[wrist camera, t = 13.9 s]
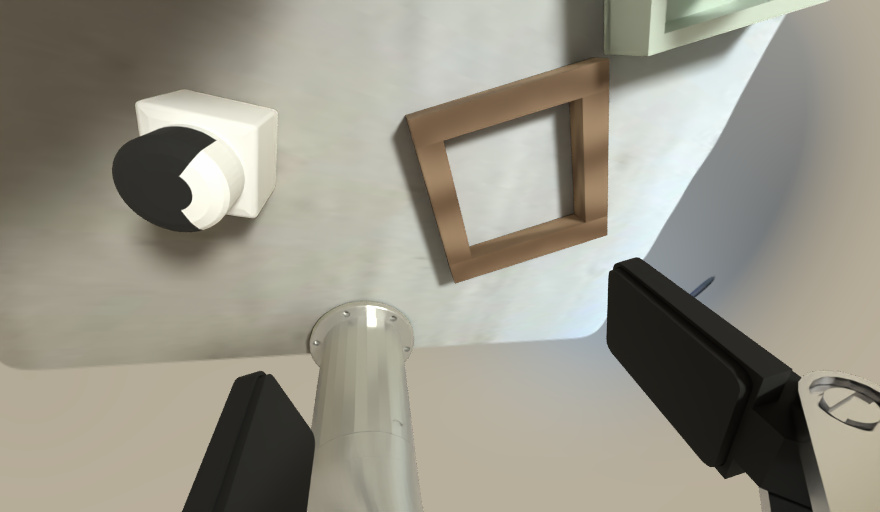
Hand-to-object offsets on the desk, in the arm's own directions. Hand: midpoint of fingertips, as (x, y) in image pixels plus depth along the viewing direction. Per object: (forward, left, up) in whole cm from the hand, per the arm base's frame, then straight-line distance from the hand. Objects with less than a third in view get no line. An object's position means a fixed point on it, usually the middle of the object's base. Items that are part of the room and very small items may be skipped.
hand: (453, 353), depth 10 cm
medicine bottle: (+3, +13, -27) cm, 31 cm away
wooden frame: (-8, -11, -27) cm, 30 cm away
